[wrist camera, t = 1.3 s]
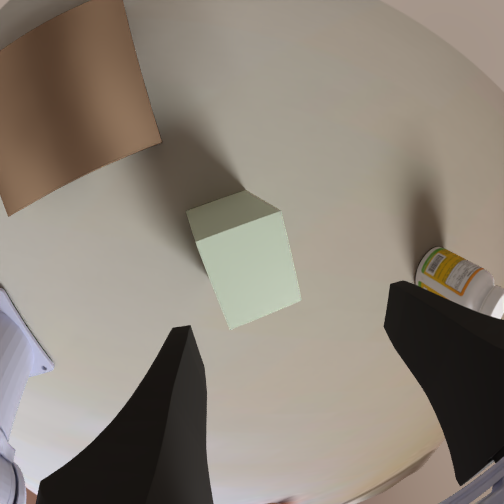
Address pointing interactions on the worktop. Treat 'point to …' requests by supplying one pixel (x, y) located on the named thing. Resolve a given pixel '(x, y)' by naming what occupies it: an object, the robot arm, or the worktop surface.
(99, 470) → the robot arm
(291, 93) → the worktop surface
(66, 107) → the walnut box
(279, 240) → the sage-green block
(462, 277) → the supplement bottle
